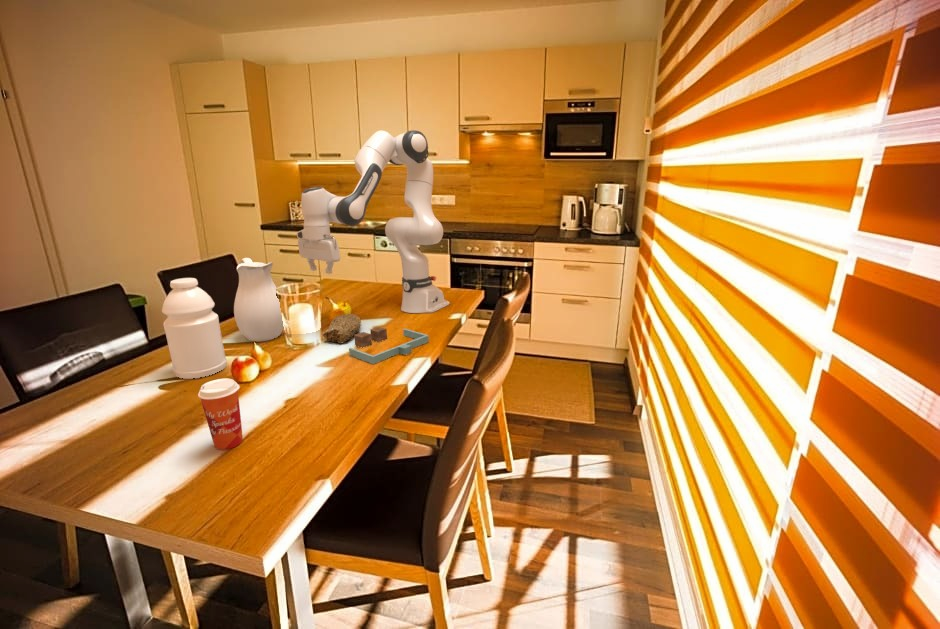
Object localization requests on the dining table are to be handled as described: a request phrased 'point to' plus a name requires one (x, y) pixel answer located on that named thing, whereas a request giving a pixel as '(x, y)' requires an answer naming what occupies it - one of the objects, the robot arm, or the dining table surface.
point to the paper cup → (222, 412)
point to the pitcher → (257, 302)
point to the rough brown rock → (342, 328)
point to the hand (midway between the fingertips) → (321, 271)
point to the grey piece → (400, 349)
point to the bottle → (192, 331)
